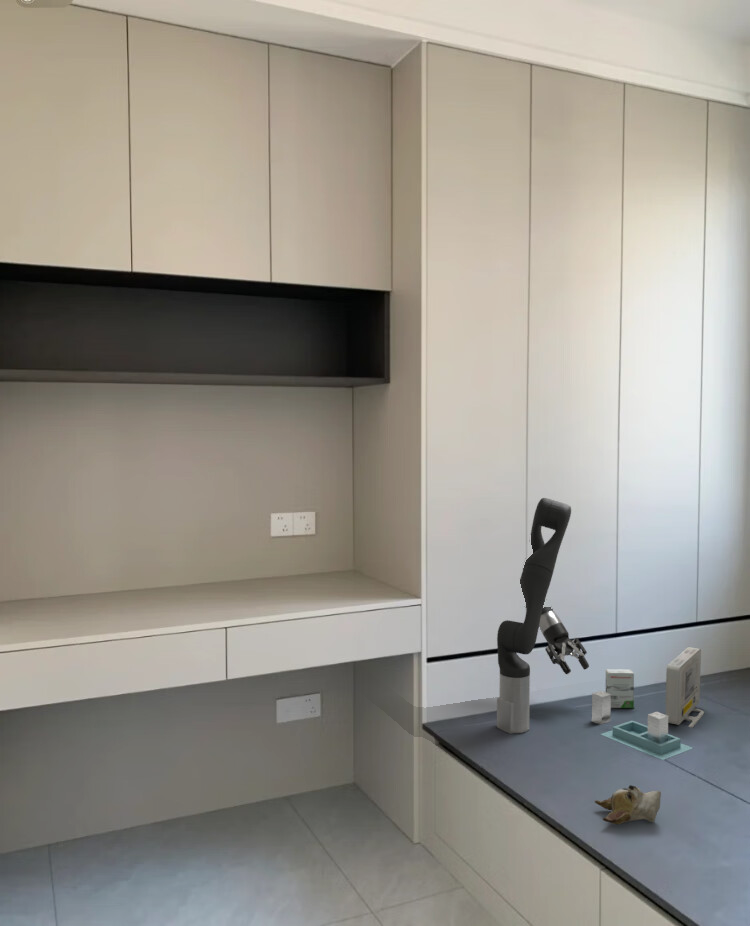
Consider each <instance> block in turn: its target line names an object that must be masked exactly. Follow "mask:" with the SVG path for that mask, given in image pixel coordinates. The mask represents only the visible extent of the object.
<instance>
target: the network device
mask: <svg viewBox="0 0 750 926" xmlns="http://www.w3.org/2000/svg"><path fill="white" fill-rule="evenodd" d="M701 658H702V650H701V648H695V647H689V646H688V647H687V648H685V650H682V652H681V653H680V654H679V655H678V656H676V657H675V658H673V660H672V661H671V662H669V663H668V664H667V666H666V674H665V675H666V676H665V677H666V679H665V681H666V682H665V684H666V685H665V715H667V716H668V724H672V725H673V724H674V725H677V726H679V725H681V723H682V722H683V721H688V722H691V723H689V725H688V727H689V728H694V727H695V725H696V724H697V723H698V722H699V721H700V719H701V718H702V717H703V716H704V713H705V711H703V710H702V709H700V708H696V707H697V705H698V704H699V703H700V697H701V666H702V665H701V662H702V659H701ZM691 712H696V713H697V712H698V714H697V716H693V715H692V716H691V715H690V714H691Z"/></svg>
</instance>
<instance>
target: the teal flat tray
mask: <svg viewBox="0 0 750 926" xmlns="http://www.w3.org/2000/svg"><path fill="white" fill-rule="evenodd" d="M647 731H648V725H645V724H643V723H640V722H638V721H634V720H632V719H631V720H629V721H626V722H623V723H621V724H617V725H614V726H612V730H609V731H606V732H602V733H600V736H603V737H606V738H608V739H611V740H613V741H615V742H618V743H621V744H623V745H625V746H628V747H629V748H632V749H634V750H637V751H639V752H642V753H644V754H646V755H649V756H651V757H655V758H657V759H659V760H662V761H664V760H667V759H669V758H672V757H674V756H676V755H680V754H682V753H685V752H688V751H691V750H692V749H694V748H693V747H691V746H689V745H686V744H685V743H684V744H683V743H682V741H681V740H682V739H681V738H680V737H677V736H674V735H672V734H669V733H668V741H667V742H664V743H662V744H659V743H656V742H654V741H651V740H649V739H647Z"/></svg>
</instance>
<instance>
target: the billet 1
mask: <svg viewBox="0 0 750 926" xmlns="http://www.w3.org/2000/svg"><path fill="white" fill-rule="evenodd" d="M591 697H592V698H591V702H592V703H591V722H592V723H594V724H597V725H600V726H601V725H604V724H607V723H610V722H611V712H612V710H611V709H612V708H611V694H608V693H606V691H602V690H598V691H596V692H592V694H591Z"/></svg>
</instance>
